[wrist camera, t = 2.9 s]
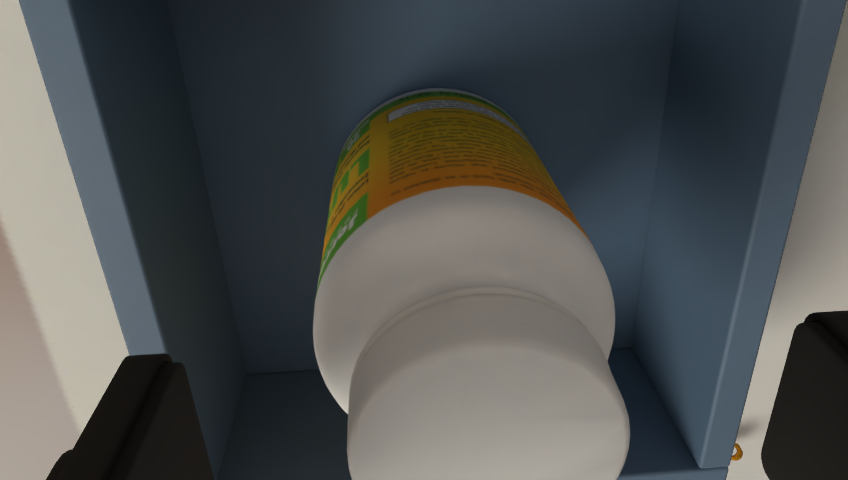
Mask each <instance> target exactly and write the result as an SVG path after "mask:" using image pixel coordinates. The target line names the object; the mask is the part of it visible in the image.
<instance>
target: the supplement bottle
mask: <svg viewBox="0 0 848 480" xmlns="http://www.w3.org/2000/svg"><path fill="white" fill-rule="evenodd" d="M614 331H615V306H614V299H613V294H612V290H611V285H610V283H609V280H608V277H607V275H606V272H605V269H604V267H603V265H602V263H601V261H600V259H599V257H598V255H597V253H596V251H595V249H594V247H593V245H592V244H591V242H590V240H589V238H588V236H587V235H586V233H585V231H584V230H583V228H582V227H581V226H580V224H579V222H578V221H577V219H576V218H575V216H574V214H573V212H572V211H571V209H570V208H569V207H568V205H567V203H566V202H565V200H564V198H563V196H562V195H561V193H560V192H559V190H558V188H557V186H556V185H555V183H554V182H553V180H552V178H551V177H550V175H549V173H548V172H547V170H546V168H545V167H544V165H543V163H542V162H541V160H540V158H539V157H538V155H537V153H536V151H535V149H534V148H533V146H532V144H531V143H530V141H529V139H528V138H527V136H526V135H525V134H524V132H523V131H522V129H521V128H520V126H519V125H518V124H517V123H516V122H515V120H514V119H513V118H512V117H511V116H510V115H509V114H508V113H506V112H505V111H504V110H503V109H501V108H500V107H499V106H497V105H496V104H494V103H493V102H491V101H489V100H487V99H485V98H483V97H481V96H478V95H476V94H473V93H470V92H466V91H462V90H457V89H449V88H427V89H421V90H416V91H411V92H408V93H405V94H402V95H399V96H396V97H394V98H392V99H390V100H388V101H386V102H384V103H383V104H381V105H379V106H378V107H376V108H375V109H374V110H372V111H371V112H370V113H369V114H367V115H366V116H365V117H364V118H363V119H362V120H361V121H360V122H359V123H358V125H357V126H356V127H355V128H354V129H353V131H352V132H351V134H350V135H349V137H348V138H347V140H346V142H345V144H344V146H343V148H342V150H341V153H340V155H339V158H338V162H337V165H336V169H335V174H334V179H333V186H332V193H331V199H330V207H329V214H328V221H327V227H326V235H325V240H324V248H323V254H322V261H321V267H320V274H319V280H318V286H317V292H316V299H315V306H314V320H313V341H314V349H315V355H316V359H317V363H318V366H319V369H320V372H321V375H322V377H323V380H324V382H325V384H326V386H327V388H328V389H329V391H330V392H331V394H332V396H333V397H334V399H335V400H336V401H337V403H338V404H339V405H340V407H341V408H342V409H343V410H344V411H345V412H346V413H347V414H348V425H347V457H348V466H349V471H350V475H351V478H352V480H616V479H617V478H618V476H619V475H620V472H621V470H622V468H623V466H624V464H625V461H626V457H627V453H628V450H629V442H630V424H629V416H628V413H627V409H626V406H625V403H624V400H623V398H622V396H621V393H620V391H619V389H618V386H617V384H616V382H615V380H614V378H613V375H612V373H611V371H610V368H609V364H608V362H607V361H608V358H609V354H610V351H611V347H612V344H613V338H614Z"/></svg>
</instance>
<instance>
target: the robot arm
mask: <svg viewBox="0 0 848 480" xmlns="http://www.w3.org/2000/svg"><path fill="white" fill-rule="evenodd" d="M761 459H762V464H763V468H764V470H765V473H766V474H767V476H768V478H769V479H770V480H848V311H833V312H817V313H812V314H809V315H808V316H807V317H806V319H805V321H804V323H801V324H798V325H797V326H796V328H795V330H794V333H793V337H792V341H791V344H790V348H789V352H788V355H787V359H786V363H785V366H784V370H783V374H782V377H781V381H780V385H779V388H778V392H777V396H776V399H775V403H774V407H773V410H772V414H771V418H770V421H769V425H768V429H767V432H766V436H765V440H764V443H763V447H762V452H761ZM46 480H214V476H213V473H212V469H211V465H210V461H209V457H208V453H207V450H206V446H205V442H204V438H203V434H202V430H201V427H200V423H199V419H198V415H197V411H196V408H195V404H194V400H193V396H192V392H191V388H190V385H189V381H188V377H187V373H186V370H185V367H184V365H183V364H182V363H181V362H174V363H173V361H172V358H171V357H170V356H169V354H166V353H162V354H146V355H130V356H127V357H125V359H124V360H123V361H122V363H121V365H120V366H119V368H118V370H117V372H116V374H115V375H114V377H113V379H112V381H111V382H110V384H109V386H108V388H107V390H106V391H105V393H104V395H103V397H102V398H101V400H100V402H99V404H98V405H97V407H96V409H95V411H94V413H93V414H92V416H91V418H90V420H89V421H88V423H87V425H86V427H85V428H84V430H83V432H82V434H81V436H80V437H79V439H78V441H77V443H76V444H75V447H74V448H73V450H69V451H67V452H66V453H64V454H62V456H61V457H60V458H59V459H58V461H57V462H56V463H55V465H54V467H53V468H52V470H51V472H50V474H49V476H48V477H47V479H46Z"/></svg>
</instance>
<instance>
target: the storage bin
mask: <svg viewBox="0 0 848 480" xmlns="http://www.w3.org/2000/svg"><path fill="white" fill-rule="evenodd" d="M846 1H847V0H19V3H20V6H21V9H22V12H23V16H24V19H25V22H26V25H27V28H28V32H29V35H30V38H31V41H32V44H33V48H34V51H35V54H36V57H37V60H38V64H39V67H40V70H41V73H42V76H43V80H44V83H45V86H46V89H47V92H48V96H49V99H50V102H51V105H52V108H53V112H54V115H55V118H56V121H57V124H58V128H59V131H60V134H61V137H62V140H63V144H64V147H65V150H66V153H67V156H68V160H69V163H70V166H71V169H72V172H73V176H74V179H75V182H76V185H77V188H78V192H79V195H80V198H81V201H82V204H83V208H84V211H85V214H86V217H87V220H88V224H89V227H90V230H91V233H92V236H93V240H94V243H95V246H96V249H97V252H98V256H99V259H100V262H101V265H102V268H103V272H104V275H105V278H106V281H107V284H108V288H109V291H110V294H111V297H112V301H113V304H114V307H115V310H116V313H117V317H118V320H119V323H120V326H121V329H122V333H123V336H124V339H125V342H126V345H127V349H128V352H129V355H146V354H162V353H166V354H169V356H170V357H171V358H172V361H173V363H174V362H181V363H182V364H183V365H184V367H185V370H186V373H187V377H188V381H189V385H190V388H191V392H192V396H193V400H194V404H195V408H196V411H197V415H198V419H199V423H200V427H201V430H202V434H203V438H204V442H205V446H206V450H207V453H208V457H209V461H210V465H211V469H212V473H213V476H214V480H352V478H351V475H350V471H349V466H348V457H347V425H348V414H347V413H346V412H345V411H344V410H343V409H342V408H341V407H340V405H339V404H338V403H337V401H336V400H335V399H334V397H333V396H332V394H331V392H330V391H329V389H328V388H327V386H326V384H325V382H324V380H323V377H322V375H321V372H320V369H319V366H318V363H317V359H316V355H315V349H314V341H313V320H314V306H315V299H316V292H317V286H318V280H319V274H320V267H321V261H322V254H323V248H324V240H325V235H326V227H327V221H328V214H329V207H330V199H331V193H332V186H333V179H334V174H335V169H336V165H337V162H338V158H339V155H340V153H341V150H342V148H343V146H344V144H345V142H346V140H347V138H348V137H349V135H350V134H351V132H352V131H353V129H354V128H355V127H356V126H357V125H358V123H359V122H360V121H361V120H362V119H363V118H364V117H365V116H366V115H367V114H369V113H370V112H371V111H372V110H374V109H375V108H376V107H378V106H379V105H381V104H383V103H384V102H386V101H388V100H390V99H392V98H394V97H396V96H399V95H402V94H405V93H408V92H411V91H416V90H421V89H427V88H449V89H457V90H462V91H466V92H470V93H473V94H476V95H478V96H481V97H483V98H485V99H487V100H489V101H491V102H493V103H494V104H496V105H497V106H499V107H500V108H501V109H503V110H504V111H505V112H506V113H508V114H509V115H510V116H511V117H512V118H513V119H514V120H515V122H516V123H517V124H518V125H519V126H520V128H521V129H522V131H523V132H524V134H525V135H526V136H527V138H528V139H529V141H530V143H531V144H532V146H533V148H534V149H535V151H536V153H537V155H538V157H539V158H540V160H541V162H542V163H543V165H544V167H545V168H546V170H547V172H548V173H549V175H550V177H551V178H552V180H553V182H554V183H555V185H556V186H557V188H558V190H559V192H560V193H561V195H562V196H563V198H564V200H565V202H566V203H567V205H568V207H569V208H570V209H571V211H572V212H573V214H574V216H575V218H576V219H577V221H578V222H579V224H580V226H581V227H582V228H583V230H584V231H585V233H586V235H587V236H588V238H589V240H590V242H591V244H592V245H593V247H594V249H595V251H596V253H597V255H598V257H599V259H600V261H601V263H602V265H603V267H604V269H605V272H606V275H607V277H608V280H609V283H610V285H611V290H612V294H613V299H614V306H615V331H614V338H613V344H612V347H611V351H610V354H609V358H608V361H607V362H608V364H609V368H610V371H611V373H612V375H613V378H614V380H615V382H616V384H617V386H618V389H619V391H620V393H621V396H622V398H623V400H624V403H625V406H626V409H627V413H628V416H629V424H630V442H629V450H628V453H627V457H626V461H625V464H624V466H623V468H622V470H621V472H620V475H619V476H618V478H617V479H616V480H726V477H727V473H728V466H729V465H730V461H731V457H732V453H733V449H734V445H735V441H736V437H737V433H738V429H739V426H740V422H741V418H742V414H743V410H744V406H745V402H746V398H747V394H748V390H749V386H750V382H751V378H752V374H753V370H754V366H755V362H756V358H757V354H758V350H759V346H760V342H761V338H762V334H763V330H764V326H765V322H766V318H767V314H768V310H769V306H770V302H771V298H772V294H773V290H774V287H775V283H776V279H777V275H778V271H779V267H780V263H781V259H782V255H783V251H784V247H785V243H786V239H787V235H788V231H789V227H790V223H791V219H792V215H793V211H794V207H795V203H796V199H797V195H798V191H799V187H800V183H801V179H802V175H803V171H804V167H805V163H806V159H807V155H808V152H809V148H810V144H811V140H812V136H813V132H814V128H815V124H816V120H817V116H818V112H819V108H820V104H821V100H822V96H823V92H824V88H825V84H826V80H827V76H828V72H829V68H830V64H831V60H832V56H833V52H834V48H835V44H836V40H837V36H838V32H839V28H840V24H841V20H842V16H843V13H844V9H845V5H846Z"/></svg>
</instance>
